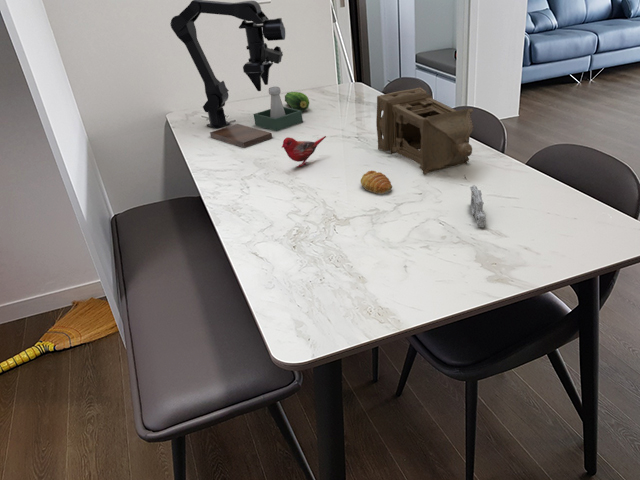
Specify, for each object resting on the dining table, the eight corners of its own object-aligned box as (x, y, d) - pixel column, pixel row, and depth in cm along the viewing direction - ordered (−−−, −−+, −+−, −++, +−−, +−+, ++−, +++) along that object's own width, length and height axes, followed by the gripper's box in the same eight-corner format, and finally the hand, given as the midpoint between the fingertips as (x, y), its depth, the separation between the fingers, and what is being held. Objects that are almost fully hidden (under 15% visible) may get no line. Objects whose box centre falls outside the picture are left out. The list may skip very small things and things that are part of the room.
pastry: (398, 191, 139) (398, 177, 137) (377, 198, 137) (376, 184, 135) (378, 180, 146) (378, 167, 144) (357, 186, 144) (356, 173, 142)
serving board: (210, 137, 190) (209, 132, 189) (238, 128, 197) (237, 123, 196) (244, 147, 177) (243, 142, 177) (272, 138, 185) (271, 132, 184)
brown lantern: (489, 182, 146) (502, 115, 138) (435, 189, 139) (446, 118, 130) (419, 145, 173) (427, 86, 164) (371, 149, 166) (377, 88, 157)
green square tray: (255, 125, 199) (253, 114, 196) (281, 117, 206) (279, 105, 204) (276, 131, 191) (274, 119, 189) (302, 122, 198) (301, 110, 196)
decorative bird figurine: (281, 172, 156) (277, 139, 151) (324, 154, 167) (321, 122, 162) (288, 174, 154) (283, 140, 149) (331, 156, 165) (328, 124, 160)
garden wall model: (485, 228, 119) (487, 204, 116) (477, 228, 119) (478, 204, 116) (476, 205, 129) (477, 182, 126) (468, 205, 129) (469, 182, 126)
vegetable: (296, 92, 203) (283, 82, 219) (290, 110, 205) (277, 99, 222) (314, 98, 207) (299, 88, 223) (307, 116, 209) (294, 105, 225)
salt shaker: (271, 121, 201) (266, 86, 194) (286, 120, 201) (282, 84, 194) (270, 126, 196) (265, 89, 189) (286, 124, 196) (281, 88, 189)
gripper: (271, 45, 175) (278, 93, 183) (284, 35, 191) (290, 80, 199) (238, 47, 177) (247, 94, 185) (254, 37, 193) (261, 82, 201)
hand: (263, 87), depth 192 cm, fingers open, 9 cm apart
